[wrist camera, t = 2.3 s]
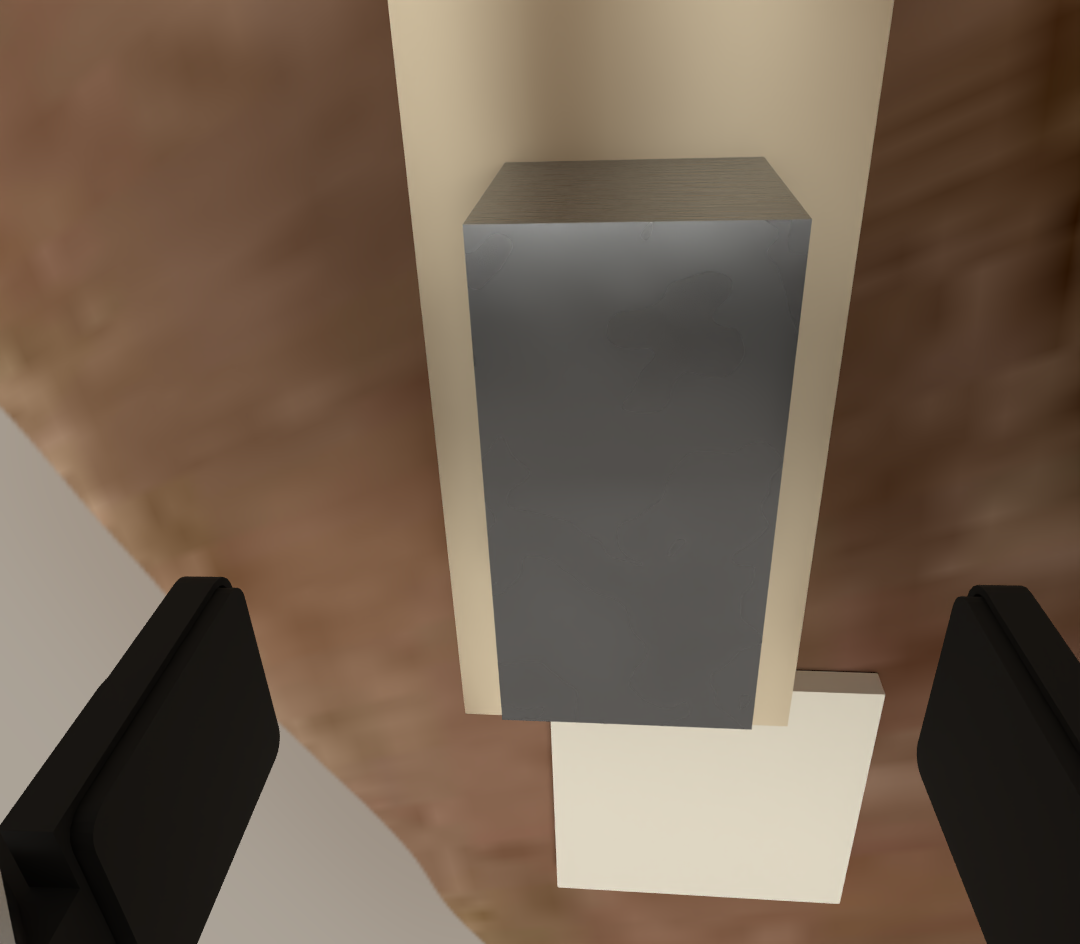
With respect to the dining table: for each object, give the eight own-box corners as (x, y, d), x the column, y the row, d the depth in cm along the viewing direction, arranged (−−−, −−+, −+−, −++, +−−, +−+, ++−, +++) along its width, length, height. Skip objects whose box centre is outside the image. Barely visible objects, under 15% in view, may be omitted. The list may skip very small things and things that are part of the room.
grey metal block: (763, 156, 16) (812, 219, 12) (726, 578, 21) (751, 730, 17) (505, 162, 17) (462, 224, 13) (527, 573, 22) (502, 719, 18)
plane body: (864, -259, 17) (944, -341, 13) (762, 611, 28) (787, 726, 24) (421, -230, 18) (355, -296, 14) (489, 603, 29) (465, 713, 24)
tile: (877, 673, 29) (885, 694, 28) (834, 880, 34) (839, 903, 33) (551, 661, 30) (549, 682, 29) (559, 864, 35) (557, 887, 34)
